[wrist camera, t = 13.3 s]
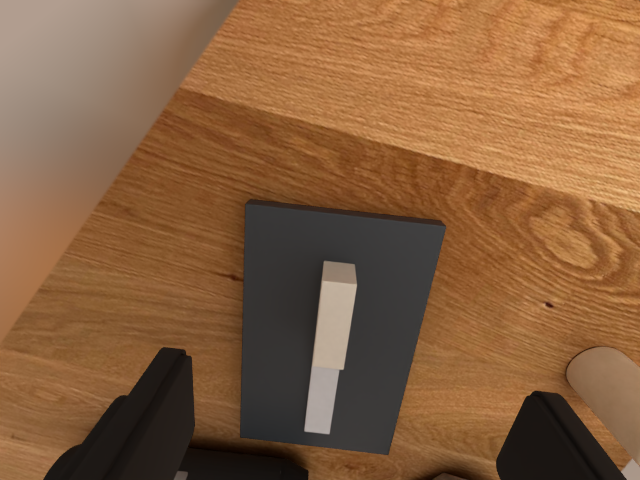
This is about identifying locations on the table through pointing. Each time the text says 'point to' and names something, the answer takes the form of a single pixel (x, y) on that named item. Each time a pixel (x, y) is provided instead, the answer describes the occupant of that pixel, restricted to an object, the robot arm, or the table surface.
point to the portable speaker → (216, 466)
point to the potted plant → (447, 477)
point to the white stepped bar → (330, 342)
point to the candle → (610, 392)
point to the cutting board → (302, 309)
